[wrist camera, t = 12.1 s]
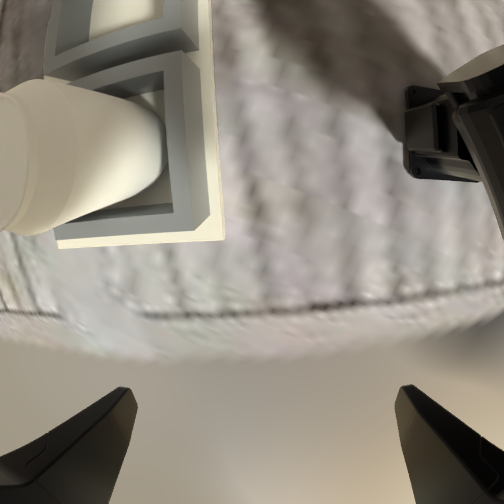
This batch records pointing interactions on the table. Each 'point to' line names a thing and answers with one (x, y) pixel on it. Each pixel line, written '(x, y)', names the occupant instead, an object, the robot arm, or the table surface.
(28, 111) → the beverage can
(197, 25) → the socket board
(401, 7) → the table surface
